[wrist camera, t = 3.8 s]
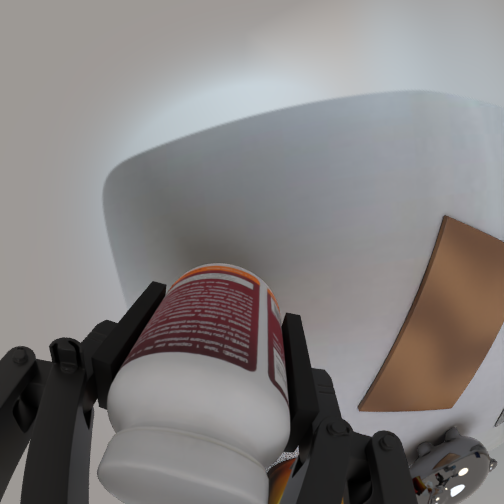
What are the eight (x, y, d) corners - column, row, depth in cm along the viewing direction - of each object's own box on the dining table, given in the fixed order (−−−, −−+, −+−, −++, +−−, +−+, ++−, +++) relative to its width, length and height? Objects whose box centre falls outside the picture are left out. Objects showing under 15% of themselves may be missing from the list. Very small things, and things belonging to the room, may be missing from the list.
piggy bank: (386, 449, 27) (408, 518, 16) (480, 403, 26) (516, 457, 15) (385, 479, 30) (401, 534, 19) (466, 441, 29) (491, 488, 18)
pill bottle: (148, 313, 16) (51, 468, 5) (214, 234, 14) (110, 405, 4) (230, 373, 17) (206, 540, 6) (304, 310, 15) (345, 505, 5)
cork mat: (443, 214, 19) (448, 216, 18) (526, 254, 20) (529, 255, 19) (357, 407, 25) (358, 411, 24) (449, 405, 25) (451, 408, 25)
